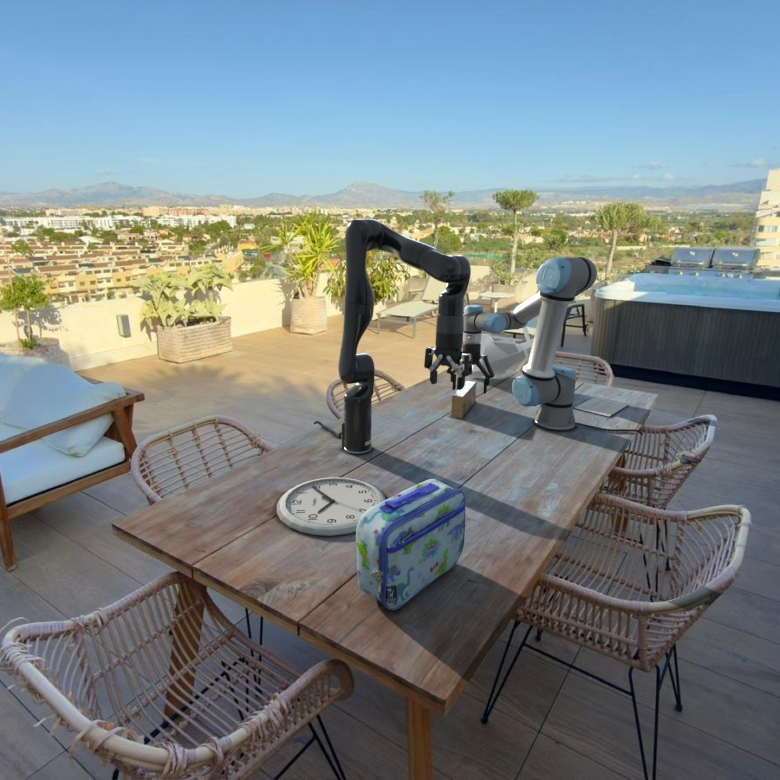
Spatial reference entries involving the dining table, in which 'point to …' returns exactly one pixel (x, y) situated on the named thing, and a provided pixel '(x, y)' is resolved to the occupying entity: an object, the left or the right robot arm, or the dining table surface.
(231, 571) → the dining table surface
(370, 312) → the left robot arm
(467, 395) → the bar
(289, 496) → the wall clock
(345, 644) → the dining table surface
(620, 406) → the thin gray rectangular panel
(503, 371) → the white plastic object
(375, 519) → the lunch box
